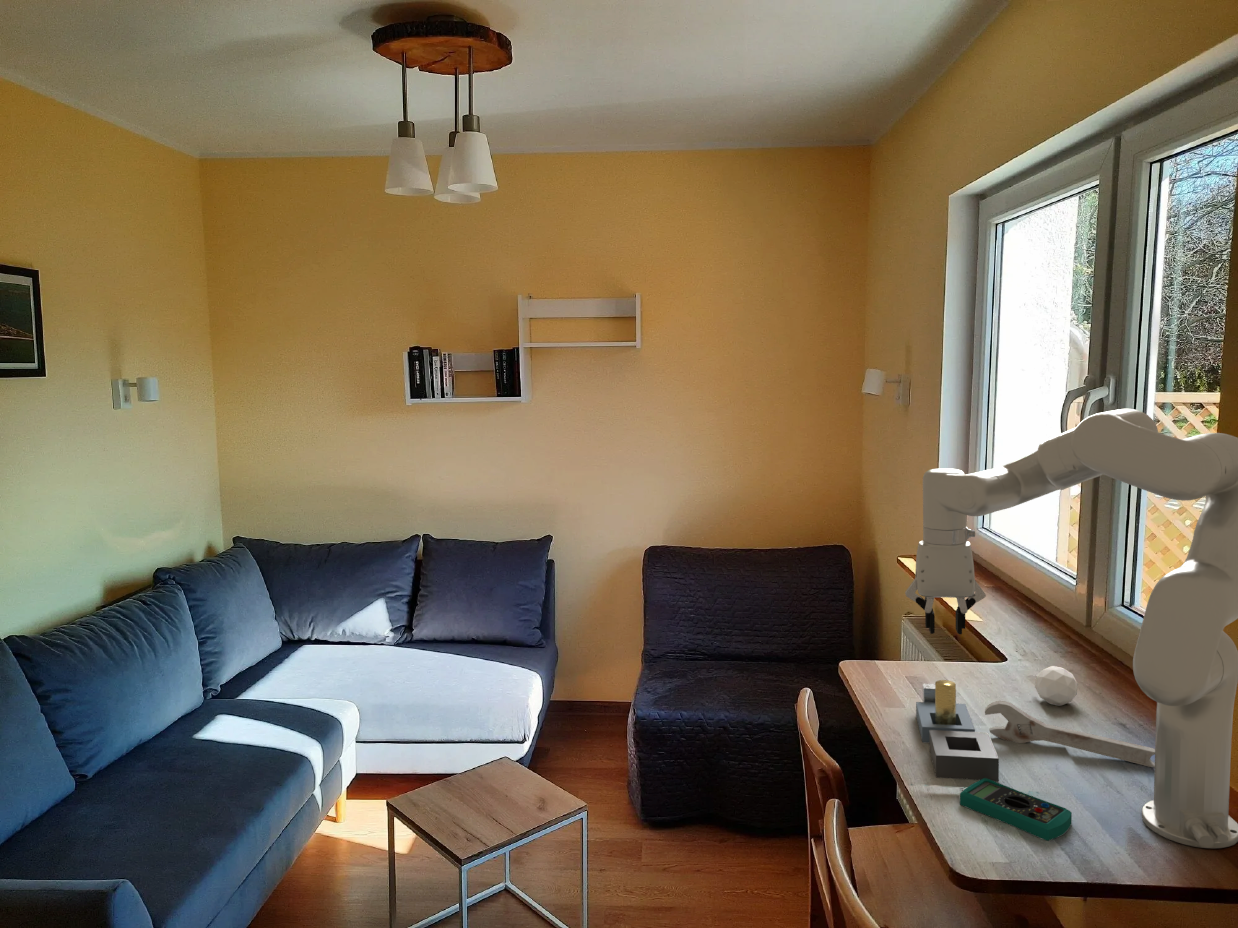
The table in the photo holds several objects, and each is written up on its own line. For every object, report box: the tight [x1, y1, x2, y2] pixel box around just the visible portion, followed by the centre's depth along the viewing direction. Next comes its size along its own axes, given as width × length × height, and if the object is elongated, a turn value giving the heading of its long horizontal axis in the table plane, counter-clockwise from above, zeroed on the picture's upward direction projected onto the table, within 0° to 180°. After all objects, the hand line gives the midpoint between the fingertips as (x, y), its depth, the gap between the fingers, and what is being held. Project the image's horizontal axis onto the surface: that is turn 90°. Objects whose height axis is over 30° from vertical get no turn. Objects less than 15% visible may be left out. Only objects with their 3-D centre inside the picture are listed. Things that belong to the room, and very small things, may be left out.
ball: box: [1034, 665, 1079, 707], centre depth 179 cm, size 8×8×8 cm
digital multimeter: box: [959, 778, 1073, 842], centre depth 139 cm, size 8×15×3 cm, turn 37°
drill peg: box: [934, 679, 957, 725], centre depth 165 cm, size 4×4×10 cm
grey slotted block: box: [929, 730, 1000, 782], centre depth 153 cm, size 10×10×5 cm
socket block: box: [915, 701, 976, 744], centre depth 167 cm, size 12×9×4 cm
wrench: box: [984, 700, 1155, 768], centre depth 157 cm, size 8×2×30 cm
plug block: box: [922, 683, 935, 703], centre depth 172 cm, size 9×6×6 cm
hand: (945, 630), depth 163 cm, fingers open, 4 cm apart
